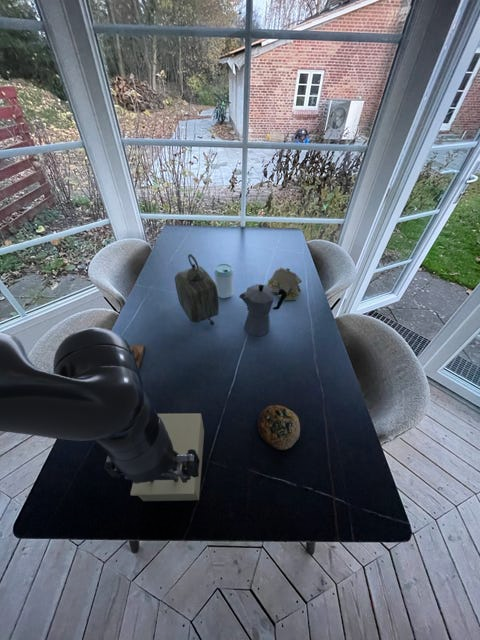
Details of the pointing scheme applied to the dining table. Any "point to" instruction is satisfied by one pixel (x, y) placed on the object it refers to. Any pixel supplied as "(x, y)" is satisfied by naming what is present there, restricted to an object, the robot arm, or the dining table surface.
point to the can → (223, 280)
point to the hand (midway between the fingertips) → (162, 476)
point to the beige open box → (197, 483)
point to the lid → (183, 439)
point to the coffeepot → (260, 307)
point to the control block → (138, 353)
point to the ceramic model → (286, 283)
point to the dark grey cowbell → (197, 293)
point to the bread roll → (279, 427)
